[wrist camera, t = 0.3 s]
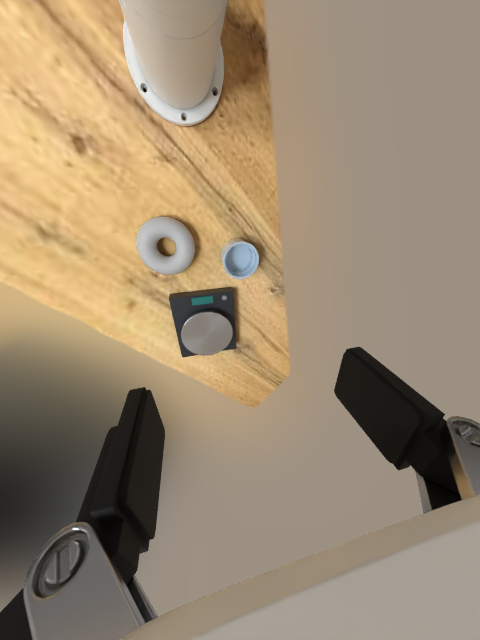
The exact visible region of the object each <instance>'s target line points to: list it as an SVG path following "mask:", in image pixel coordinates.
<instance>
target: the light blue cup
mask: <svg viewBox="0 0 480 640" xmlns="http://www.w3.org/2000/svg"><path fill="white" fill-rule="evenodd" d="M220 261H221V263H222V265H223V267H224V269H225V271H226V272H227V273H228V274H229V275H230V276H231V277H233V278H236V279H244V278H247V277H249V276H251V275H252V274H253V273H254V272H255V270H256V269H257V266H258V264H259V255H258V253H257V250H256V248H255V247H254V246H253V245H252V244H250V243H248V242H247V241H245V240H242V239H232V240H230V241H228V242H227V243H226V244H225V245H224V246H223V247H222V250H221V253H220Z"/></svg>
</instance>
